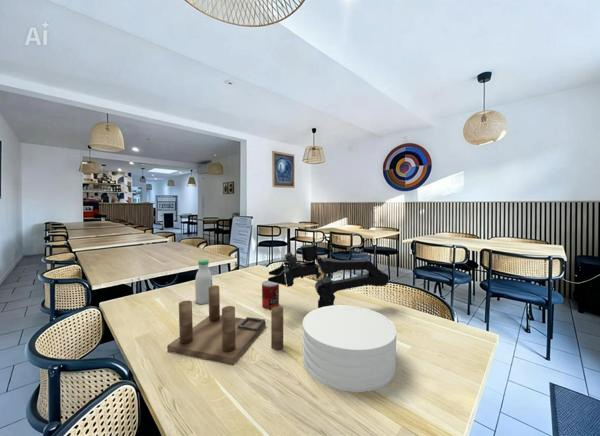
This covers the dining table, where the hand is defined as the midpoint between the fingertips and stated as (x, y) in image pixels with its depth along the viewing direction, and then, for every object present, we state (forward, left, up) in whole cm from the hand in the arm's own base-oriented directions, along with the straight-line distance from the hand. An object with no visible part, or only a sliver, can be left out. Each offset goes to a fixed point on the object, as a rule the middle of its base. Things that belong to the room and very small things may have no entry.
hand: (268, 276), depth 110 cm
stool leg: (-10, +24, -16) cm, 31 cm away
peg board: (+11, +22, -16) cm, 30 cm away
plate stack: (-33, +27, -17) cm, 46 cm away
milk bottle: (+34, -8, -17) cm, 39 cm away
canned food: (+1, -8, -17) cm, 19 cm away
